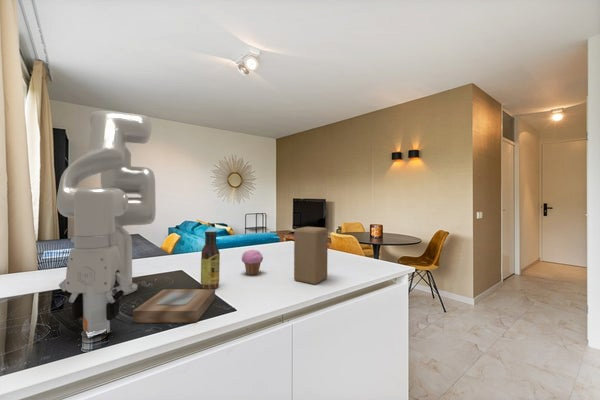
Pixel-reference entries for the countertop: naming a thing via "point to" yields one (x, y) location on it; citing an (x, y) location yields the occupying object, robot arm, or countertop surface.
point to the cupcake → (252, 261)
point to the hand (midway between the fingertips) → (96, 316)
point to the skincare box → (95, 311)
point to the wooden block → (310, 254)
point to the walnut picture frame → (175, 306)
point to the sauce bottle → (210, 262)
